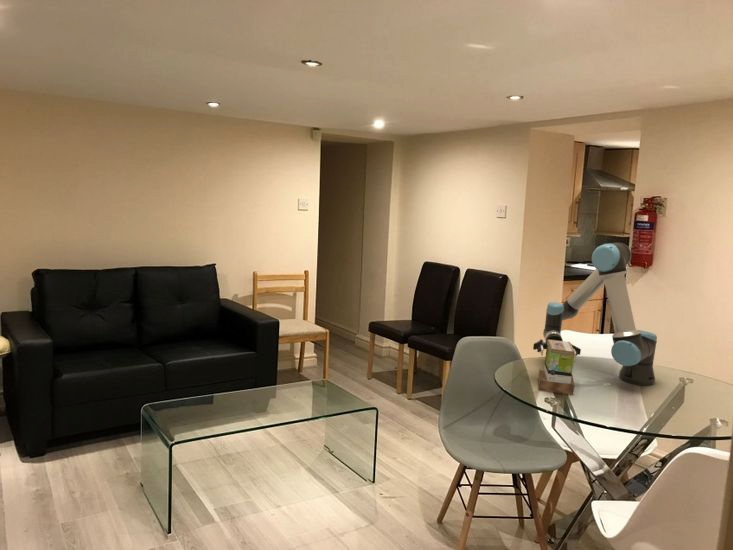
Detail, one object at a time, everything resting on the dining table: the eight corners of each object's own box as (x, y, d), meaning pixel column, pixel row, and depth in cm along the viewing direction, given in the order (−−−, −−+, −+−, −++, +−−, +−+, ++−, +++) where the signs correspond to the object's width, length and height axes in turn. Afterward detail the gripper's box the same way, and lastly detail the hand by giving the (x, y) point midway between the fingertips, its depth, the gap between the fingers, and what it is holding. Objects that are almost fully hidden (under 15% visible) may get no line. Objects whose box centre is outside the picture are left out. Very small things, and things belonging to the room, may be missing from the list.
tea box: (571, 384, 249) (575, 351, 246) (546, 381, 251) (550, 348, 248) (566, 372, 264) (570, 340, 261) (543, 370, 265) (546, 338, 263)
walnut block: (570, 384, 263) (572, 374, 262) (572, 396, 250) (574, 385, 249) (538, 380, 267) (539, 369, 266) (538, 391, 254) (539, 380, 253)
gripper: (580, 351, 275) (587, 366, 254) (525, 345, 280) (528, 359, 259) (582, 335, 273) (589, 349, 253) (527, 330, 278) (529, 342, 258)
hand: (558, 354), depth 256 cm, fingers open, 13 cm apart
